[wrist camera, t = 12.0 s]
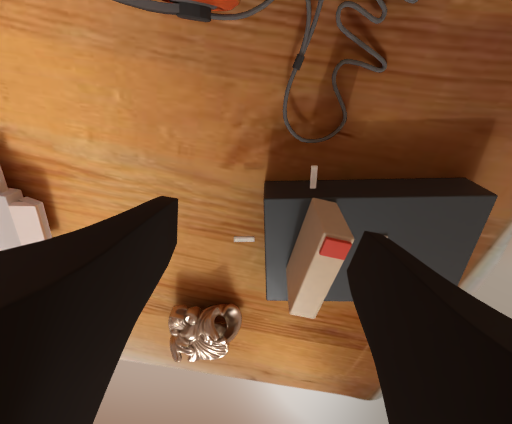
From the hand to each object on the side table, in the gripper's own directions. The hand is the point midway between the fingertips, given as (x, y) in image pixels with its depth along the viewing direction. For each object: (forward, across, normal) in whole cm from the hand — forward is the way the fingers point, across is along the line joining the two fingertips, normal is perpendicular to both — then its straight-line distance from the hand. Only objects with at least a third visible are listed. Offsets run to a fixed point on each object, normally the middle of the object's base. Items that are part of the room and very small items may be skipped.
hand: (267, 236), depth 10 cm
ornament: (+10, +3, +17) cm, 20 cm away
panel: (+9, -7, +4) cm, 12 cm away
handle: (+6, -4, +4) cm, 8 cm away
